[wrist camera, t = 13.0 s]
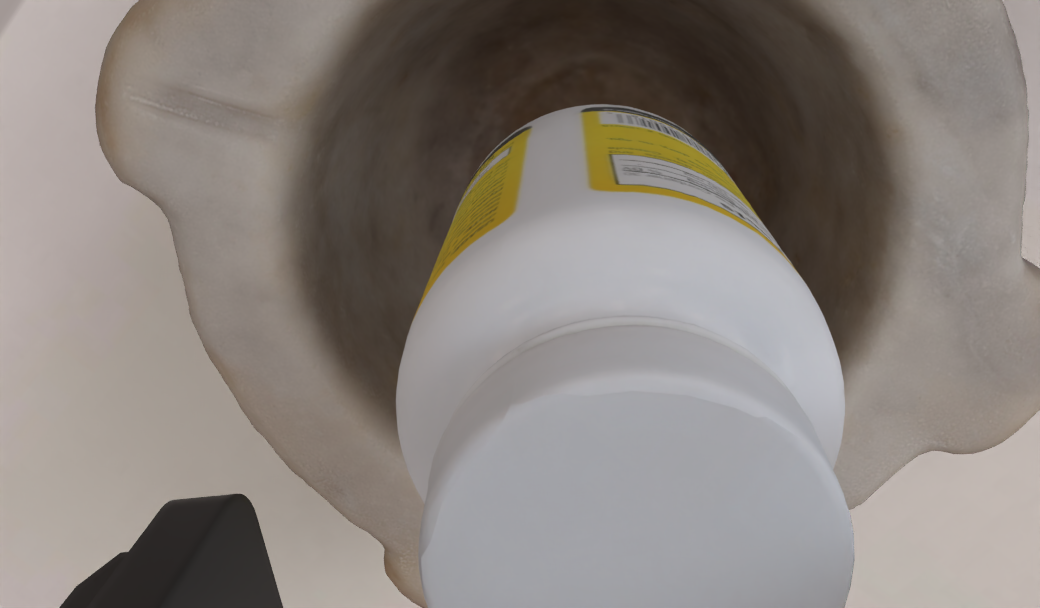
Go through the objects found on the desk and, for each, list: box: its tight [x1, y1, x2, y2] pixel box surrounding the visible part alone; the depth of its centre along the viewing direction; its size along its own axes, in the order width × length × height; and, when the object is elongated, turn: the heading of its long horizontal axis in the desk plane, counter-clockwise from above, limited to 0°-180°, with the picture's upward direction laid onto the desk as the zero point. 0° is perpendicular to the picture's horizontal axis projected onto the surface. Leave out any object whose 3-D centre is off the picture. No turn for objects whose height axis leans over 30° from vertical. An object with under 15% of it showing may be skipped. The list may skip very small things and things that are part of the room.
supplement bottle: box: [396, 104, 854, 608], centre depth 13 cm, size 5×5×10 cm
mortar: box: [95, 0, 1040, 608], centre depth 22 cm, size 17×17×9 cm
